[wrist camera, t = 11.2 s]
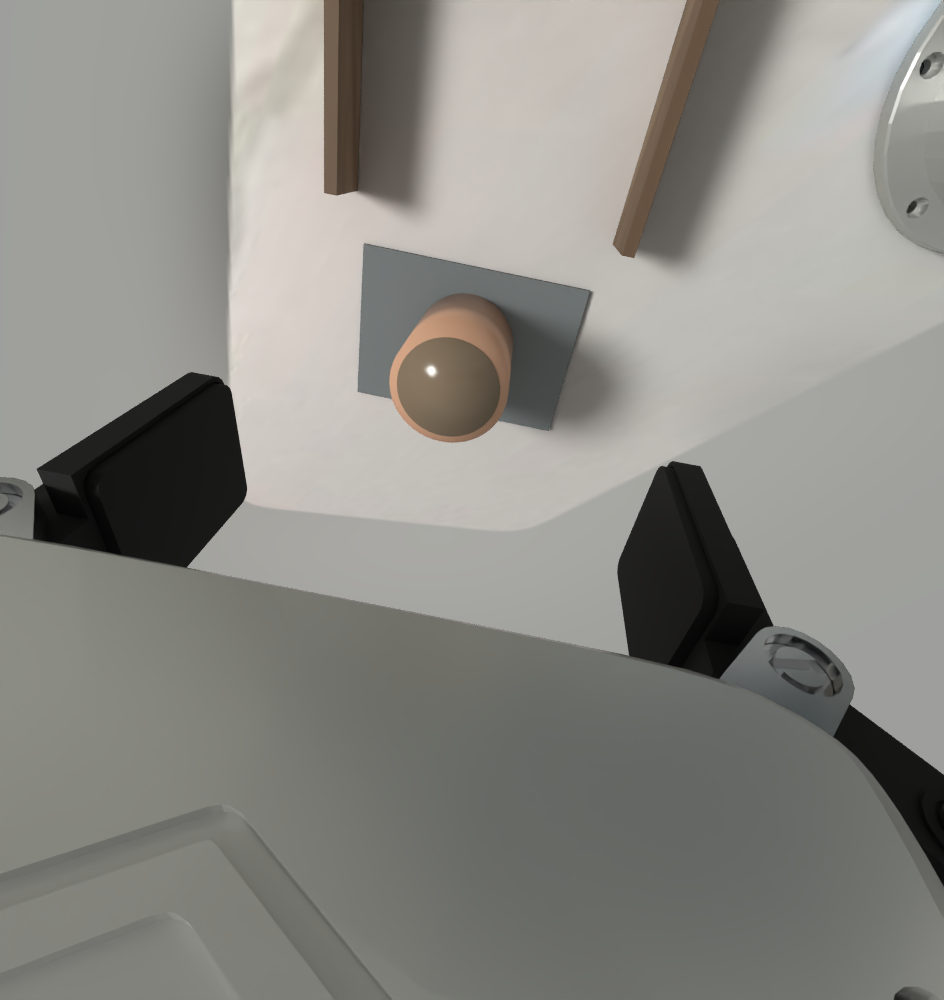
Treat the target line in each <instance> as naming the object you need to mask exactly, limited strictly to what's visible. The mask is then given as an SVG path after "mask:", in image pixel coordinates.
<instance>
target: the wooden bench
mask: <svg viewBox="0 0 944 1000" xmlns="http://www.w3.org/2000/svg"><path fill="white" fill-rule="evenodd" d="M718 3H719V0H687V2H686V5H685V9H684V12H683V15H682V18H681V22H680V25H679V28H678V32H677V35H676V38H675V41H674V45H673V48H672V51H671V55H670V58H669V61H668V64H667V68H666V71H665V74H664V78H663V81H662V84H661V87H660V91H659V94H658V97H657V101H656V104H655V107H654V110H653V114H652V117H651V120H650V124H649V127H648V130H647V133H646V137H645V140H644V143H643V147H642V150H641V153H640V156H639V160H638V163H637V166H636V170H635V173H634V176H633V179H632V183H631V186H630V189H629V193H628V196H627V199H626V202H625V206H624V209H623V212H622V216H621V219H620V222H619V225H618V229H617V232H616V235H615V239H614V242H613V245H614V246H615V248H616V249H617V250H618V251H619V252H620V254H621V255H622V256H627V257H632V258H634V257H635V254H636V251H637V248H638V245H639V242H640V239H641V236H642V233H643V230H644V227H645V224H646V221H647V218H648V215H649V211H650V208H651V205H652V202H653V199H654V196H655V193H656V190H657V187H658V184H659V181H660V178H661V175H662V172H663V169H664V166H665V163H666V160H667V157H668V154H669V151H670V148H671V145H672V142H673V139H674V136H675V133H676V130H677V127H678V124H679V121H680V118H681V115H682V112H683V109H684V106H685V103H686V100H687V97H688V94H689V91H690V88H691V85H692V82H693V79H694V76H695V73H696V70H697V67H698V64H699V61H700V58H701V55H702V52H703V49H704V46H705V43H706V40H707V37H708V34H709V31H710V28H711V25H712V22H713V19H714V16H715V13H716V10H717V7H718ZM363 11H364V0H324V193H327V194H332V195H341V194H345V193H349V192H353V191H358V165H359V134H360V103H361V73H362V42H363Z"/></svg>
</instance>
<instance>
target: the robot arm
mask: <svg viewBox="0 0 944 1000" xmlns="http://www.w3.org/2000/svg"><path fill="white" fill-rule="evenodd" d="M922 62H924V65H925V66H924V69H923V71H922V72H921V74H920V72H919V70H920V67H921V64H922ZM873 170H874V177H875V183H876V190H877V195H878V198H879V200H880V203H881V205H882V207H883V210H884V212H885V215H886V216H887V218H888V219H889V220H890V221H891V223H892V224H893V225H894V226H895V228H896V229H897V230H898V231H899V233H901V234H902V235H904V236H905V237H907V238H908V239H910V240H911V241H913V242H914V243H915V244H917V245H920V246H923V247H926V248H929V249H931V250H934V251H937V252H942V253H944V0H943V1H942V2H941V4H940V5H939V6H938V8H937V9H936V11H935V12H934V13H933V15H932V16H931V18H930V19H929V20H928V22H927V23H926V25H925V26H924V27H923V29H922V30H921V32H920V33H919V34H918V36H917V37H916V39H915V41H914V42H913V44H912V46H911V48H910V50H909V52H908V53H907V55H906V57H905V59H904V61H903V62H902V64H901V66H900V68H899V70H898V71H897V73H896V76H895V78H894V81H893V83H892V86H891V88H890V91H889V93H888V96H887V98H886V101H885V104H884V106H883V109H882V113H881V117H880V122H879V126H878V130H877V134H876V139H875V151H874V168H873ZM910 204H911V207H910V208H909V209H908V206H909V205H910ZM907 209H908V210H907ZM37 471H38V473H39V475H40V477H41V480H42V482H43V484H42V485H41V486H40V487H38V488H36V489H35V490H34V488H33V486H32V485H30V484H29V483H27V482H26V481H24V480H20V479H16V478H7V477H0V1000H944V775H943V774H942V773H941V772H939V771H938V770H937V769H935V768H934V767H932V766H931V765H930V764H929V763H927V762H926V761H924V760H923V759H922V758H920V757H919V756H918V755H916V754H915V753H914V752H912V751H911V750H910V749H908V748H907V747H906V746H904V745H903V744H902V743H900V742H899V741H898V740H896V739H895V738H894V737H892V736H891V735H890V734H888V733H887V732H885V731H884V730H883V729H882V728H880V727H879V726H877V725H876V724H875V723H874V722H872V721H871V720H870V719H868V718H867V717H866V716H864V715H863V714H862V713H860V712H859V711H858V710H856V709H855V708H854V707H852V706H851V705H850V702H851V700H852V699H853V694H854V684H853V681H852V677H851V675H850V673H849V672H848V670H847V669H846V667H845V666H844V664H843V663H842V662H841V661H840V659H839V658H838V657H837V656H836V655H835V654H834V653H833V652H832V651H831V650H829V649H828V648H827V647H825V646H824V645H823V644H821V643H820V642H819V641H817V640H815V639H813V638H811V637H810V636H808V635H806V634H804V633H802V632H799V631H796V630H793V629H790V628H786V627H779V626H773V624H772V622H771V619H770V617H769V615H768V613H767V610H766V608H765V606H764V604H763V602H762V599H761V597H760V595H759V593H758V591H757V589H756V586H755V584H754V582H753V580H752V577H751V575H750V573H749V570H748V568H747V566H746V564H745V562H744V560H743V557H742V555H741V553H740V550H739V548H738V546H737V544H736V542H735V540H734V538H733V537H732V535H731V533H730V530H729V528H728V526H727V524H726V522H725V519H724V517H723V515H722V512H721V510H720V508H719V506H718V504H717V501H716V499H715V497H714V495H713V492H712V490H711V488H710V486H709V483H708V481H707V479H706V477H705V474H704V472H703V470H702V468H701V467H700V466H696V465H690V464H685V463H679V462H674V461H672V462H670V463H669V465H668V466H667V467H664V466H661V467H659V468H658V470H657V472H656V474H655V476H654V479H653V482H652V484H651V486H650V488H649V491H648V493H647V495H646V498H645V500H644V502H643V505H642V507H641V510H640V512H639V514H638V517H637V519H636V521H635V524H634V526H633V528H632V531H631V533H630V535H629V538H628V540H627V543H626V545H625V547H624V550H623V552H622V554H621V557H620V559H619V563H618V572H617V573H618V581H619V588H620V594H621V602H622V609H623V616H624V622H625V630H626V637H627V644H628V650H629V656H627V655H623V654H618V653H614V652H609V651H604V650H599V649H594V648H589V647H584V646H579V645H574V644H569V643H564V642H560V641H555V640H549V639H545V638H540V637H535V636H530V635H524V634H520V633H515V632H510V631H505V630H500V629H495V628H490V627H485V626H480V625H475V624H470V623H465V622H460V621H455V620H450V619H445V618H440V617H435V616H430V615H425V614H419V613H415V612H410V611H405V610H400V609H395V608H390V607H385V606H380V605H375V604H369V603H364V602H359V601H354V600H349V599H344V598H339V597H334V596H329V595H324V594H318V593H314V592H308V591H303V590H298V589H293V588H288V587H283V586H278V585H272V584H267V583H262V582H257V581H252V580H247V579H242V578H237V577H232V576H226V575H222V574H217V573H212V572H206V571H201V570H196V569H190V568H187V566H188V565H189V564H190V563H191V562H192V560H193V559H194V558H195V557H196V556H197V555H198V554H199V553H200V551H201V550H202V549H203V548H204V547H205V545H206V544H207V543H208V542H209V541H210V540H211V539H212V537H213V536H214V535H215V534H216V533H217V532H218V530H219V529H220V528H221V527H222V526H223V525H224V524H225V522H226V521H227V520H228V519H229V518H230V517H231V515H232V514H233V513H234V512H235V511H236V510H237V508H238V507H239V506H240V505H241V504H242V503H243V501H244V499H245V497H246V493H247V484H246V478H245V472H244V466H243V460H242V454H241V447H240V441H239V435H238V429H237V423H236V417H235V411H234V405H233V399H232V393H231V390H230V388H229V387H228V386H227V385H224V383H223V381H222V380H221V379H220V378H219V377H215V376H209V375H204V374H198V373H193V372H191V373H188V374H186V375H184V376H183V377H181V378H180V379H178V380H176V381H175V382H173V383H172V384H170V385H169V386H167V387H165V388H164V389H163V390H161V391H159V392H158V393H156V394H154V395H153V396H151V397H150V398H148V399H147V400H145V401H143V402H142V403H140V404H139V405H137V406H135V407H134V408H132V409H131V410H129V411H128V412H126V413H124V414H123V415H122V416H120V417H118V418H116V419H115V420H114V421H112V422H110V423H109V424H107V425H105V426H104V427H102V428H101V429H99V430H98V431H96V432H94V433H93V434H91V435H90V436H88V437H86V438H85V439H83V440H82V441H80V442H79V443H77V444H75V445H74V446H72V447H71V448H69V449H68V450H66V451H64V452H63V453H61V454H60V455H58V456H57V457H55V458H53V459H52V460H50V461H49V462H47V463H45V464H44V465H42V466H41V467H39V468H38V469H37Z"/></svg>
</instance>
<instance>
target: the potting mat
mask: <svg viewBox="0 0 944 1000" xmlns="http://www.w3.org/2000/svg"><path fill="white" fill-rule="evenodd" d="M459 293H467V294H473V295H477V296H480V297H482V298H485V299H487V300H488V301H490V302H492V303H493V304H494V305H495V306H497V307H498V308H499V309H500V311H501V312H502V313H503V314H504V316H505V317H506V319H507V321H508V322H509V325H510V327H511V330H512V335H513V356H512V364H511V373H510V382H509V391H508V398H507V403H506V406H505V409H504V411H503V413H502V415H501V417H500V418H499V420H498V421H503V422H508V423H513V424H518V425H522V426H527V427H532V428H537V429H542V430H547V431H549V428H550V425H551V421H552V418H553V415H554V411H555V408H556V405H557V401H558V398H559V394H560V391H561V388H562V384H563V381H564V377H565V374H566V371H567V367H568V364H569V360H570V357H571V354H572V350H573V347H574V343H575V340H576V337H577V333H578V330H579V326H580V323H581V320H582V316H583V313H584V310H585V306H586V303H587V299H588V296H589V293H590V290H585V289H580V288H575V287H571V286H566V285H561V284H556V283H551V282H547V281H542V280H537V279H532V278H528V277H523V276H518V275H513V274H508V273H504V272H499V271H494V270H489V269H484V268H480V267H475V266H470V265H465V264H461V263H456V262H451V261H446V260H441V259H437V258H432V257H427V256H422V255H417V254H413V253H408V252H403V251H398V250H394V249H389V248H384V247H379V246H374V245H370V244H364V250H363V274H362V299H361V323H360V348H359V372H358V392H361V393H366V394H371V395H376V396H380V397H385V398H390V399H392V396H391V392H390V385H389V380H390V371H391V367H392V364H393V361H394V359H395V357H396V355H397V354H398V352H399V351H400V349H401V348H402V346H403V345H404V343H405V342H406V340H407V339H408V337H409V336H410V334H411V333H412V331H413V330H414V328H415V327H416V325H417V324H418V322H419V321H420V320H421V318H422V317H423V315H424V314H425V312H426V311H427V310H428V309H429V307H430V306H432V305H433V304H434V303H435V302H437V301H438V300H440V299H442V298H444V297H446V296H449V295H453V294H459Z"/></svg>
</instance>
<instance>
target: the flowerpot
mask: <svg viewBox="0 0 944 1000" xmlns="http://www.w3.org/2000/svg"><path fill="white" fill-rule="evenodd" d="M512 356H513V335H512V330H511V327H510V325H509V322H508V321H507V319H506V317H505V316H504V314H503V313H502V312H501V311H500V309H499V308H498V307H497V306H495V305H494V304H493V303H492V302H490V301H488V300H487V299H485V298H482V297H480V296H477V295H473V294H467V293H459V294H453V295H449V296H446V297H444V298H442V299H440V300H438V301H437V302H435V303H434V304H433V305H432V306H430V307H429V309H428V310H427V311H426V312H425V314H424V315H423V317H422V318H421V320H420V321H419V322H418V324H417V325H416V327H415V328H414V330H413V331H412V333H411V334H410V336H409V337H408V339H407V340H406V342H405V343H404V345H403V346H402V348H401V349H400V351H399V352H398V354H397V355H396V357H395V359H394V361H393V364H392V367H391V371H390V380H389V385H390V392H391V396H392V400H393V402H394V405H395V407H396V409H397V411H398V412H399V414H400V415H401V417H402V418H403V419H404V420H405V421H406V422H407V424H409V425H410V426H411V427H412V428H413V429H414V430H416V431H417V432H419V433H421V434H422V435H424V436H426V437H429V438H431V439H434V440H438V441H443V442H463V441H468V440H471V439H474V438H477V437H479V436H481V435H483V434H484V433H486V432H487V431H488V430H490V429H491V428H492V427H493V426H494V425H495V424H496V423H497V421H498V420H499V418H500V417H501V415H502V413H503V411H504V409H505V406H506V403H507V398H508V391H509V382H510V373H511V364H512Z"/></svg>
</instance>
